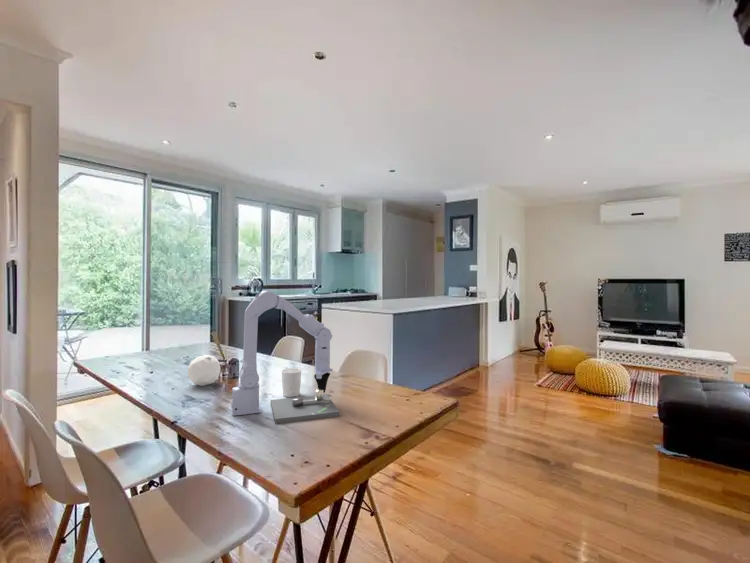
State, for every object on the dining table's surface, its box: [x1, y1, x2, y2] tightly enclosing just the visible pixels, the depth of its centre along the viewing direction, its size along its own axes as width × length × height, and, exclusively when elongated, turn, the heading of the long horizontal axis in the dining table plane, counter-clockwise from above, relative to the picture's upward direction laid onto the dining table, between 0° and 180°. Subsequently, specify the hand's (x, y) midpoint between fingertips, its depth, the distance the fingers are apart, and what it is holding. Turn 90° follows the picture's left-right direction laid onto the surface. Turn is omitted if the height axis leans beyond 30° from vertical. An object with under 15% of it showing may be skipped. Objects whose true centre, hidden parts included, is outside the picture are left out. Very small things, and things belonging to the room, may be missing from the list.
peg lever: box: [292, 388, 332, 406], centre depth 139 cm, size 14×4×4 cm, turn 110°
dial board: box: [269, 394, 340, 424], centre depth 137 cm, size 22×20×2 cm
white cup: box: [281, 367, 302, 398], centre depth 154 cm, size 8×8×10 cm
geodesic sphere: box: [187, 354, 221, 387], centre depth 167 cm, size 14×14×14 cm
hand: (322, 392), depth 146 cm, fingers closed
